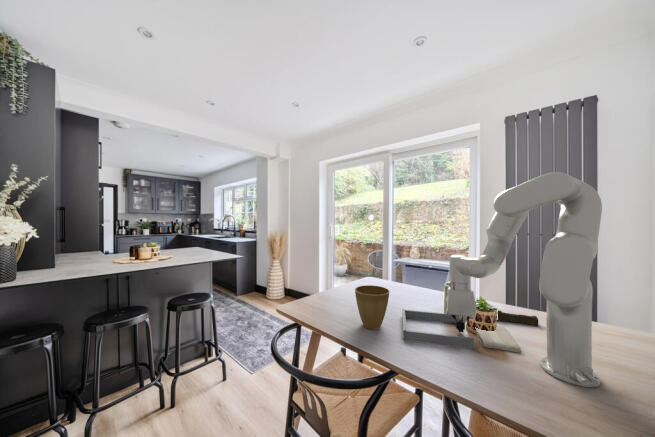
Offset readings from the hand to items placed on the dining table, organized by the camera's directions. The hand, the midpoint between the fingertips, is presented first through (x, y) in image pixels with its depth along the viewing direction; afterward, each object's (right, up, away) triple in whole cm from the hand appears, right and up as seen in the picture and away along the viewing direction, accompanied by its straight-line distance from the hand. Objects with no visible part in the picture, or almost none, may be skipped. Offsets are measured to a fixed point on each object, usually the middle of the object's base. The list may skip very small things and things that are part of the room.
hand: (460, 330), depth 96 cm
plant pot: (-34, -2, +7) cm, 35 cm away
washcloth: (+11, -2, -4) cm, 12 cm away
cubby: (-10, -1, +3) cm, 10 cm away
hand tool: (+29, -1, +10) cm, 30 cm away
